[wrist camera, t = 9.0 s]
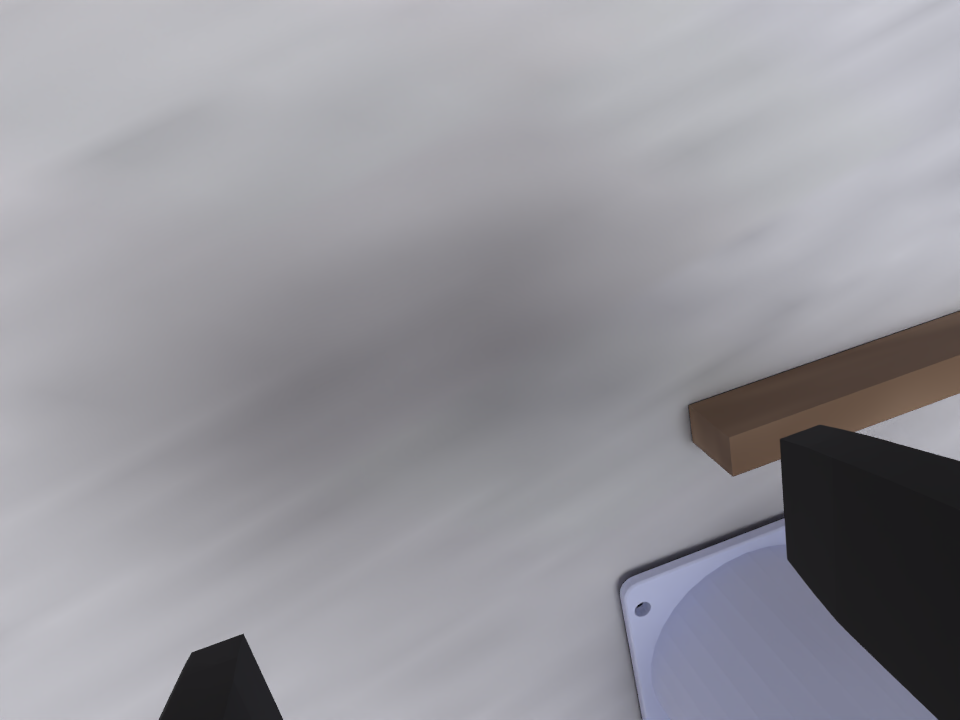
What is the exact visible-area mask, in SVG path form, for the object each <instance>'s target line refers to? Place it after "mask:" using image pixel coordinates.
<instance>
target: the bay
mask: <svg viewBox="0 0 960 720" xmlns="http://www.w3.org/2000/svg"><path fill="white" fill-rule="evenodd" d="M959 393H960V311H959V312H956V313H953V314H950V315H947V316H944V317H941V318H939V319H936V320H933V321H930V322H927V323H924V324H921V325H918V326H916V327H913V328H910V329H907V330H904V331H901V332H898V333H895V334H892V335H890V336H887V337H884V338H881V339H878V340H875V341H872V342H869V343H867V344H864V345H861V346H858V347H855V348H852V349H849V350H846V351H844V352H841V353H838V354H835V355H832V356H829V357H826V358H823V359H821V360H818V361H815V362H812V363H809V364H806V365H803V366H800V367H797V368H795V369H792V370H789V371H786V372H783V373H780V374H777V375H774V376H772V377H769V378H766V379H763V380H760V381H757V382H754V383H751V384H749V385H746V386H743V387H740V388H737V389H734V390H731V391H728V392H726V393H723V394H720V395H717V396H714V397H711V398H708V399H705V400H703V401H700V402H697V403H694V404H691V405H689V414H690V422H691V431H692V439H693V443H695V444H696V445H697V446H698V447H699V448H700V449H702V450H703V451H704V452H705V453H706V454H707V455H708V456H710V457H711V458H712V459H713V460H714V461H715V462H717V463H718V464H719V465H720V466H721V467H722V468H723V469H725V470H726V471H727V472H728V473H729V474H730V475H731V476H736V475H739V474H741V473H744V472H747V471H750V470H752V469H755V468H758V467H761V466H763V465H766V464H769V463H771V462H774V461H777V460H780V459H781V452H780V439H781V438H784V437H787V436H789V435H792V434H795V433H798V432H800V431H803V430H806V429H809V428H811V427H814V426H817V425H825V426H829V427H834V428H839V429H843V430H847V431H851V432H856V431H858V430H861V429H864V428H866V427H869V426H872V425H875V424H877V423H880V422H883V421H885V420H888V419H891V418H894V417H896V416H899V415H902V414H904V413H907V412H910V411H913V410H915V409H918V408H921V407H923V406H926V405H929V404H932V403H934V402H937V401H940V400H942V399H945V398H948V397H951V396H953V395H956V394H959Z"/></svg>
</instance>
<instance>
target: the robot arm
mask: <svg viewBox="0 0 960 720" xmlns="http://www.w3.org/2000/svg"><path fill="white" fill-rule="evenodd" d="M780 452H781V469H782V485H783V502H784V519H781V520H778V521H776V522H773V523H771V524H768V525H765V526H763V527H760V528H757V529H755V530H752V531H750V532H747V533H744V534H742V535H739V536H737V537H734V538H731V539H729V540H726V541H724V542H721V543H718V544H716V545H713V546H710V547H708V548H705V549H703V550H700V551H697V552H695V553H692V554H690V555H687V556H684V557H682V558H679V559H676V560H674V561H671V562H669V563H666V564H663V565H661V566H658V567H656V568H653V569H650V570H648V571H645V572H643V573H640V574H637V575H635V576H632V577H631V578H629V579H627V580H626V581H625V582H624V583H623V585H622V587H621V589H620V598H621V604H622V609H623V615H624V620H625V626H626V631H627V637H628V642H629V648H630V653H631V659H632V664H633V670H634V675H635V681H636V686H637V692H638V697H639V703H640V708H641V714H642V720H960V461H957V460H954V459H950V458H946V457H943V456H939V455H936V454H932V453H929V452H925V451H921V450H918V449H914V448H911V447H907V446H904V445H900V444H896V443H893V442H889V441H885V440H882V439H878V438H874V437H871V436H867V435H863V434H859V433H855V432H851V431H847V430H843V429H839V428H834V427H829V426H825V425H817V426H814V427H811V428H809V429H806V430H803V431H800V432H798V433H795V434H792V435H789V436H787V437H784V438H781V439H780ZM642 602H644V603H643V604H642V605H641V606H639V607H638V608H636V607H637V605H639V604H640V603H642ZM159 720H283V718H282V716H281V714H280V712H279V710H278V707H277V705H276V703H275V701H274V699H273V697H272V694H271V692H270V690H269V688H268V686H267V684H266V682H265V679H264V677H263V675H262V673H261V671H260V669H259V666H258V664H257V662H256V660H255V658H254V656H253V653H252V651H251V649H250V647H249V645H248V643H247V640H246V638H245V636H244V634H242V635H239V636H236V637H233V638H231V639H228V640H225V641H222V642H220V643H217V644H214V645H211V646H209V647H206V648H203V649H200V650H198V651H195V652H192V653H191V655H190V657H189V659H188V660H187V662H186V664H185V666H184V668H183V670H182V672H181V674H180V676H179V678H178V680H177V682H176V684H175V686H174V689H173V691H172V693H171V695H170V697H169V699H168V701H167V703H166V705H165V708H164V710H163V712H162V714H161V716H160V718H159Z"/></svg>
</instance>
